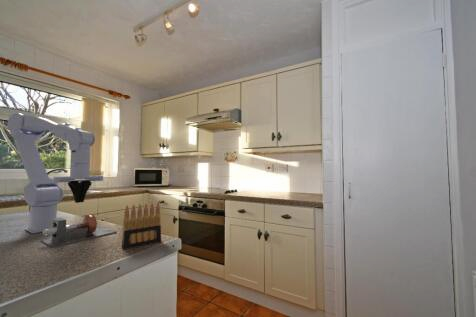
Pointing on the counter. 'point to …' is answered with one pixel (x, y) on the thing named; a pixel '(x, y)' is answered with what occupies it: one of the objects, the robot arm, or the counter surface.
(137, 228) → the ammunition clip
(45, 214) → the robot arm
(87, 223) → the hammer
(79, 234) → the eye bracket
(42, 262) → the counter surface
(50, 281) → the counter surface
